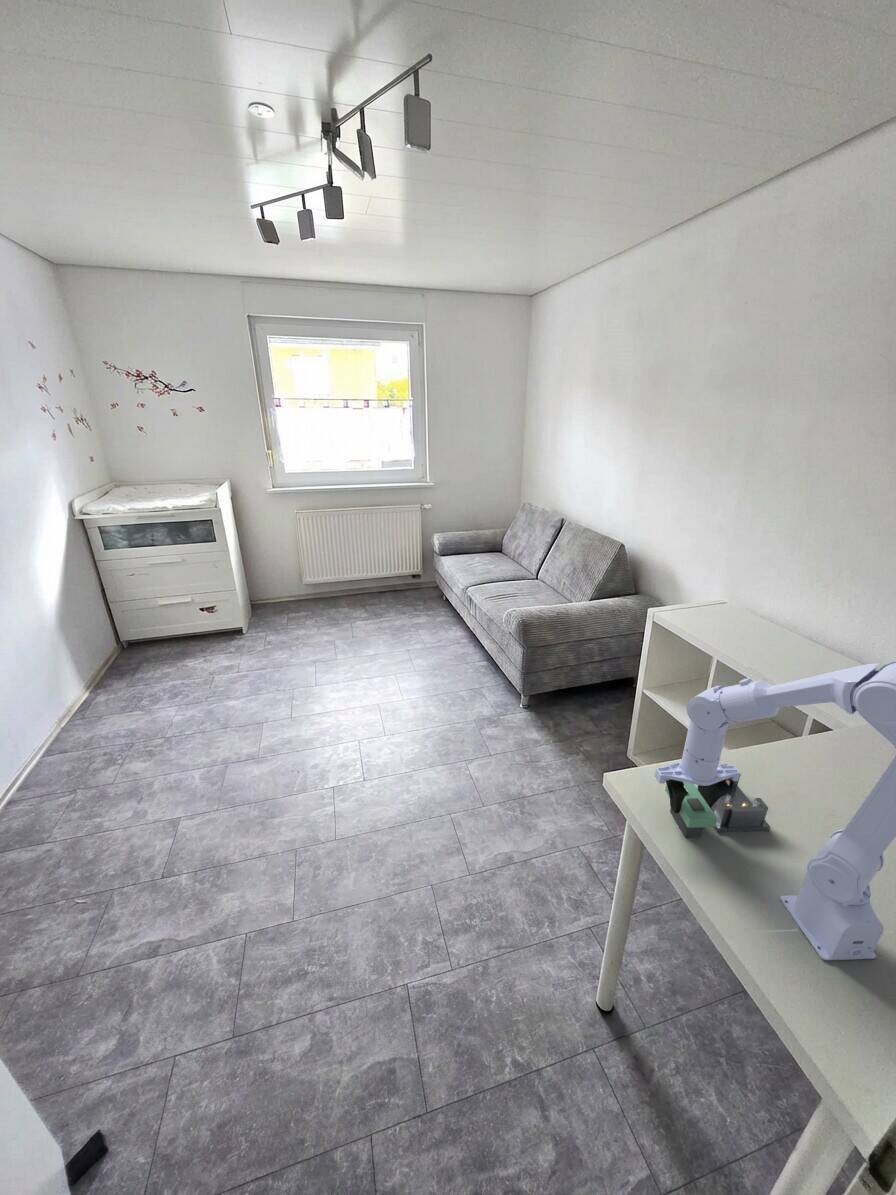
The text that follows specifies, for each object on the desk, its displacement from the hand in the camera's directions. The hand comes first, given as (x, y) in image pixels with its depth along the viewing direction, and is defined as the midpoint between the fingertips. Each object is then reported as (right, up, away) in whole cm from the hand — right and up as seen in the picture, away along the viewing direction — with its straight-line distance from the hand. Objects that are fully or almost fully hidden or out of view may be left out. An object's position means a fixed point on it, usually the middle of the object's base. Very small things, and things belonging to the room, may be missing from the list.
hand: (689, 808), depth 89 cm
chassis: (+10, -2, +6) cm, 11 cm away
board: (0, 0, 0) cm, 0 cm away
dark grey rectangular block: (0, -4, +2) cm, 4 cm away
